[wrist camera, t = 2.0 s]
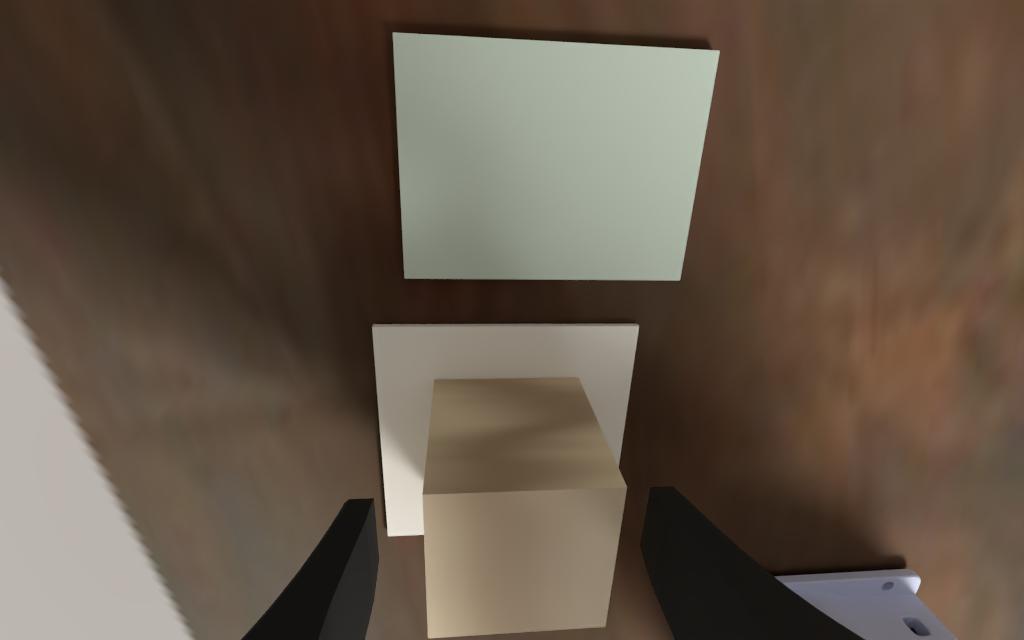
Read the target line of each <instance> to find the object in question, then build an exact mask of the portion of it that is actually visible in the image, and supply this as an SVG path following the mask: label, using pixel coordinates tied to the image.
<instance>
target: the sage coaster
mask: <svg viewBox="0 0 1024 640" xmlns="http://www.w3.org/2000/svg"><path fill="white" fill-rule="evenodd" d="M393 50H394V71H395V92H396V113H397V134H398V155H399V176H400V198H401V219H402V240H403V261H404V279H529V280H678V281H680V278H681V272H682V266H683V260H684V255H685V249H686V243H687V237H688V232H689V226H690V220H691V214H692V209H693V203H694V197H695V191H696V185H697V180H698V174H699V168H700V162H701V157H702V151H703V145H704V139H705V133H706V128H707V122H708V116H709V110H710V105H711V99H712V93H713V87H714V81H715V76H716V70H717V64H718V58H719V53H720V51H718V50H700V49H682V48H664V47H646V46H628V45H610V44H592V43H574V42H556V41H538V40H521V39H503V38H485V37H467V36H449V35H431V34H413V33H395V32H393Z"/></svg>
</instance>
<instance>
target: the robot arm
mask: <svg viewBox="0 0 1024 640" xmlns="http://www.w3.org/2000/svg"><path fill="white" fill-rule="evenodd" d="M640 547H641V550H642V554H643V557H644V561H645V564H646V568H647V571H648V574H649V577H650V581H651V584H652V586H653V589H654V591H655V594H656V596H657V598H658V601H659V603H660V605H661V608H662V610H663V613H664V615H665V617H666V620H667V622H668V624H669V626H670V629H671V631H672V633H673V636H674V638H675V640H958V639H957V638H956V637H955V636H954V635H953V634H952V633H951V632H950V631H949V630H948V628H947V627H946V626H945V625H944V624H943V623H942V622H941V621H940V620H939V619H938V618H937V617H936V616H935V615H934V614H933V613H932V612H931V611H930V609H929V608H928V607H927V606H926V605H925V604H924V603H923V602H922V601H921V600H920V599H919V598H918V597H917V596H916V595H915V594H916V592H917V589H918V587H919V585H920V582H921V579H920V577H919V576H918V575H917V574H916V573H915V572H914V571H913V570H911V569H895V570H877V571H860V572H842V573H824V574H807V575H789V576H773V575H771V574H770V573H769V572H768V571H766V570H765V569H764V568H763V567H762V566H760V565H759V564H758V563H757V562H755V561H754V560H753V559H752V558H751V557H749V556H748V555H747V554H746V553H745V552H744V551H742V550H741V549H740V548H739V547H738V546H737V545H736V544H734V543H733V542H732V541H731V540H730V539H729V538H728V537H727V536H725V535H724V534H723V533H722V532H721V531H720V530H719V529H718V528H717V527H716V526H714V525H713V524H712V523H711V522H710V521H709V520H708V519H707V518H706V517H705V516H704V515H703V514H702V513H701V512H699V511H698V510H697V509H696V508H695V507H694V506H693V505H692V504H691V503H690V502H689V501H688V500H687V499H686V498H685V497H684V496H682V495H681V494H680V493H679V492H678V491H677V490H676V489H675V488H674V487H651V488H650V494H649V499H648V505H647V511H646V516H645V522H644V527H643V533H642V538H641V544H640ZM378 563H379V553H378V542H377V530H376V519H375V508H374V498H372V499H349V500H348V501H347V502H345V503H344V505H343V507H342V508H341V510H340V512H339V513H338V515H337V517H336V518H335V520H334V521H333V523H332V524H331V526H330V528H329V529H328V531H327V532H326V534H325V535H324V537H323V538H322V539H321V541H320V542H319V544H318V545H317V547H316V548H315V549H314V551H313V552H312V554H311V555H310V556H309V558H308V559H307V561H306V562H305V563H304V565H303V566H302V567H301V569H300V570H299V571H298V573H297V574H296V575H295V577H294V578H293V579H292V580H291V582H290V583H289V584H288V585H287V587H286V588H285V589H284V590H283V592H282V593H281V594H280V595H279V597H278V598H277V599H276V600H275V602H274V603H273V604H272V605H271V607H270V608H269V609H268V610H267V611H266V612H265V614H264V615H263V616H262V617H261V618H260V619H259V620H258V622H257V623H256V624H255V625H254V626H253V627H252V628H251V629H250V630H249V632H248V633H247V634H246V635H245V636H244V637H243V638H242V639H241V640H365V637H366V632H367V628H368V624H369V619H370V615H371V611H372V606H373V602H374V595H375V587H376V580H377V572H378Z"/></svg>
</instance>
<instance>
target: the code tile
mask: <svg viewBox="0 0 1024 640" xmlns="http://www.w3.org/2000/svg"><path fill="white" fill-rule="evenodd" d="M638 331H639V325H638V324H373V326H372V333H373V346H374V360H375V373H376V386H377V399H378V412H379V425H380V438H381V451H382V465H383V478H384V491H385V504H386V517H387V530H388V536H405V535H424V521H423V496H422V494H423V485H424V475H425V465H426V455H427V446H428V436H429V426H430V416H431V407H432V397H433V387H434V380H449V379H523V378H579V380H580V382H581V385H582V387H583V389H584V391H585V394H586V396H587V398H588V400H589V403H590V405H591V407H592V409H593V412H594V414H595V416H596V418H597V421H598V423H599V425H600V427H601V430H602V432H603V434H604V436H605V439H606V441H607V443H608V445H609V448H610V450H611V452H612V454H613V457H614V459H615V461H616V463H617V466H618V468H619V461H620V455H621V448H622V441H623V434H624V427H625V420H626V413H627V407H628V400H629V393H630V386H631V379H632V372H633V365H634V359H635V352H636V345H637V338H638Z"/></svg>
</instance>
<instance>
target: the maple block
mask: <svg viewBox="0 0 1024 640" xmlns="http://www.w3.org/2000/svg"><path fill="white" fill-rule="evenodd" d="M626 492H627V486H626V484H625V481H624V479H623V477H622V475H621V472H620V470H619V468H618V466H617V463H616V461H615V459H614V457H613V454H612V452H611V450H610V448H609V445H608V443H607V441H606V439H605V436H604V434H603V432H602V430H601V427H600V425H599V423H598V421H597V418H596V416H595V414H594V412H593V409H592V407H591V405H590V403H589V400H588V398H587V396H586V394H585V391H584V389H583V387H582V385H581V382H580V380H579V378H523V379H449V380H434V387H433V397H432V407H431V416H430V426H429V436H428V446H427V455H426V465H425V475H424V485H423V494H422V496H423V521H424V546H425V571H426V597H427V622H428V638H441V637H457V636H472V635H487V634H503V633H518V632H533V631H548V630H564V629H579V628H594V627H605V625H606V619H607V613H608V606H609V600H610V594H611V587H612V581H613V574H614V568H615V562H616V555H617V549H618V543H619V536H620V530H621V523H622V517H623V511H624V504H625V498H626Z"/></svg>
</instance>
